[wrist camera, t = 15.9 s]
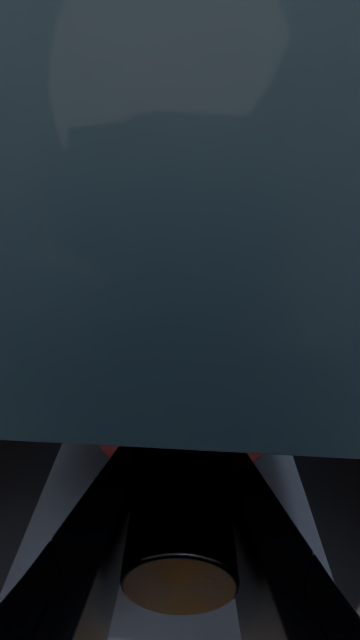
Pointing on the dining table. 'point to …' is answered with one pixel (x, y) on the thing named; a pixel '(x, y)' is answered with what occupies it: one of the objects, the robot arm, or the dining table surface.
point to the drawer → (128, 618)
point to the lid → (180, 533)
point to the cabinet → (181, 224)
